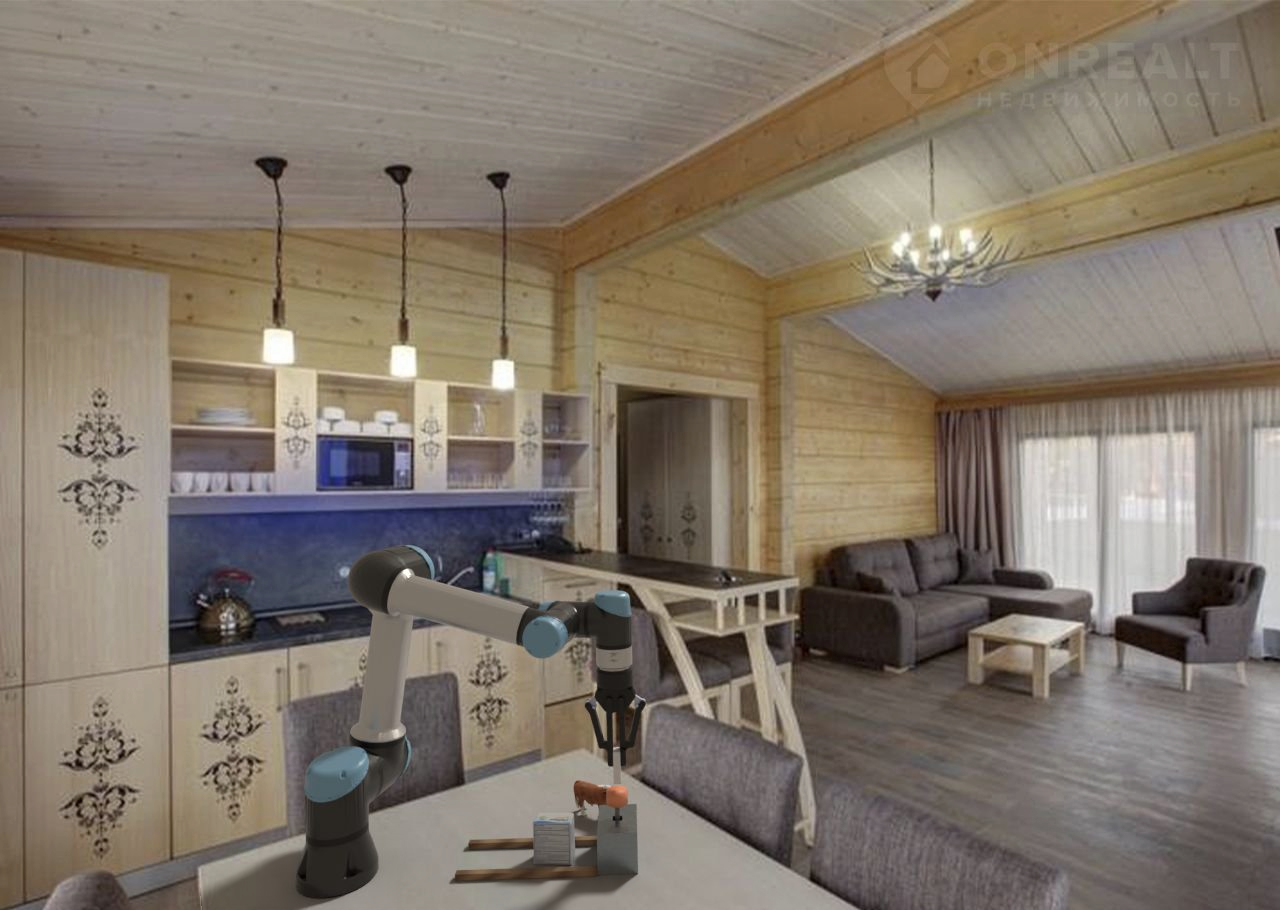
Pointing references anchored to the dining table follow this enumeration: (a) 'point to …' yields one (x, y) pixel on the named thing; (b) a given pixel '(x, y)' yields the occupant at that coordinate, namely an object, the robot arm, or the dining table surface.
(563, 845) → the medicine box
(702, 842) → the dining table surface
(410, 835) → the dining table surface
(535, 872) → the track
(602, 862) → the end cabinet
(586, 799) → the bull figurine
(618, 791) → the gauge button
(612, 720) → the robot arm
